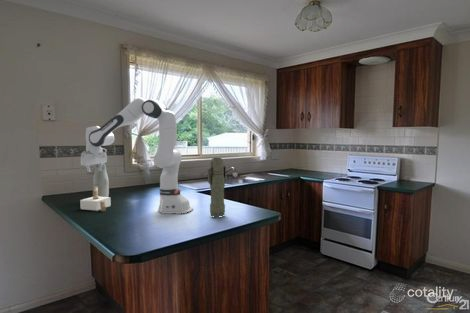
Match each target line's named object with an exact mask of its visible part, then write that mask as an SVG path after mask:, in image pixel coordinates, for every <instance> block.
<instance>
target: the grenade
mask: <svg viewBox="0 0 470 313" xmlns="http://www.w3.org/2000/svg"><path fill="white" fill-rule="evenodd" d="M207 183H208V185H209V188H210V204H209V212H210V215H211V216H214V217H219V216H223V215H225V216H226V204H225V184H226V183H227V167H226V165H224V159H223V158H222V157H213V158H211V161H210V166H208V167H207Z"/></svg>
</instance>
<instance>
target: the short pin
mask: <svg viewBox="0 0 470 313" xmlns="http://www.w3.org/2000/svg"><path fill="white" fill-rule="evenodd" d="M100 207H101V209H100V212H106V210H107V209H106V208H107V207H106V204H105V201H101V202H100Z"/></svg>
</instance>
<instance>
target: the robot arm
mask: <svg viewBox="0 0 470 313" xmlns="http://www.w3.org/2000/svg"><path fill="white" fill-rule="evenodd" d="M144 115H146V116H147V117H148V118H152V119H157V122H158V139H159V140H158V146H157V149H156V153H155V154H154V155H153V163H154V165H155V166H156V167H157V168H161V169H162V171H161V174H160V177H159V186H160V187H159V206H158V209H157V210H158V212H160V213H161V214H172V213H176V214H177V215H178V214H181V213H182V214H183V213H185V214H188V213H190V211H191V212H192V211H193V210H194V207H193V206H191V205H190V204H191V203H190V201H189V199H188V198H186V197H185V196H184V195H183V194H181V192H182V188H179V187H178V184H179V182H178V180H179V179H178V178H179V170H180V169H179V168H180V165H181V162H182V161H183V155H182V153H181V152H180V151H178V150H177V149H175V145H176V143H177V141H178V137H177V136H178V129H177V128H178V126H177V118H176V114H175V113H174V112H173V111H171V110H168V107H167V105H166V104H165V103H164V102H161V101H159V100H156V99H153V98H152V99H145V98H142V97H137V98H135V99H134V100H132V101H131V102H129V103H128V104H127V105H126V106H125V107H124V108H123V109H122V110H120V112H118V113H117V114H116V115H115V116H113V117H112V118H111V119H110V120H108V121H107V122H105V124H103V125H102V126H101V127H100V126H99V125H89V126H87V127H86V128H85V142H86V144H85V149H86V150H84V151H82V152H81V154H80V166H85V168H86V169H87V171H86V172H87V173H91V172H92V169H91V168H90V166H93V165H96V164H99V168H98V170H102V169H101V167H102V165H103V164H106V163H107V161H108V155H107V149H105V148H103V146H111V145H112V144H114V142H115V141H116V138H115V133H113V132H115V130H117V129H119V128H121V127H125V126H130V125H133V124H135V123H137V121H139V120H140V119H141V118H142V117H143V116H144ZM187 212H188V213H187ZM182 214H181V215H182Z"/></svg>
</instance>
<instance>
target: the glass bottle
mask: <svg viewBox="0 0 470 313" xmlns="http://www.w3.org/2000/svg"><path fill="white" fill-rule="evenodd" d="M98 168H99V164H95V166H94V175H93V178H92V188H93V187H98V196H100V197H109V195H110V189H109V188H110V182H109V179H110V178H109V177H108V176H109V175H108V172H107V166H106V163H103V165H102V167H101V169H102V170H98Z"/></svg>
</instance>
